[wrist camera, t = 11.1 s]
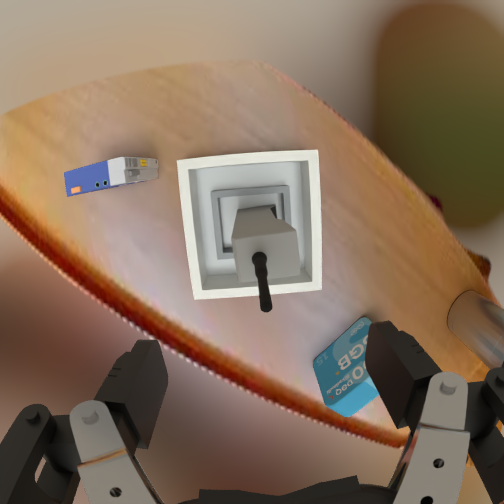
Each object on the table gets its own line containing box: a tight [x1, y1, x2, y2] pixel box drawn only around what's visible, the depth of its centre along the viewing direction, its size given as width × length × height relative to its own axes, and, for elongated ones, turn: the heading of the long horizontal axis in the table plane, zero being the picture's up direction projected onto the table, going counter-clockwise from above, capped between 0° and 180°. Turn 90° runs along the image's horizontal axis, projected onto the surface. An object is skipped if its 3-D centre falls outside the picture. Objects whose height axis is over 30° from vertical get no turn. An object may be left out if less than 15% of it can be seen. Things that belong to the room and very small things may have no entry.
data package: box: [313, 317, 379, 417], centre depth 40 cm, size 12×4×12 cm, turn 138°
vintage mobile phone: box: [231, 204, 301, 312], centre depth 26 cm, size 4×5×25 cm
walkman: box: [64, 157, 159, 197], centre depth 32 cm, size 8×3×12 cm, turn 96°
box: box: [177, 150, 322, 300], centre depth 37 cm, size 16×17×6 cm
